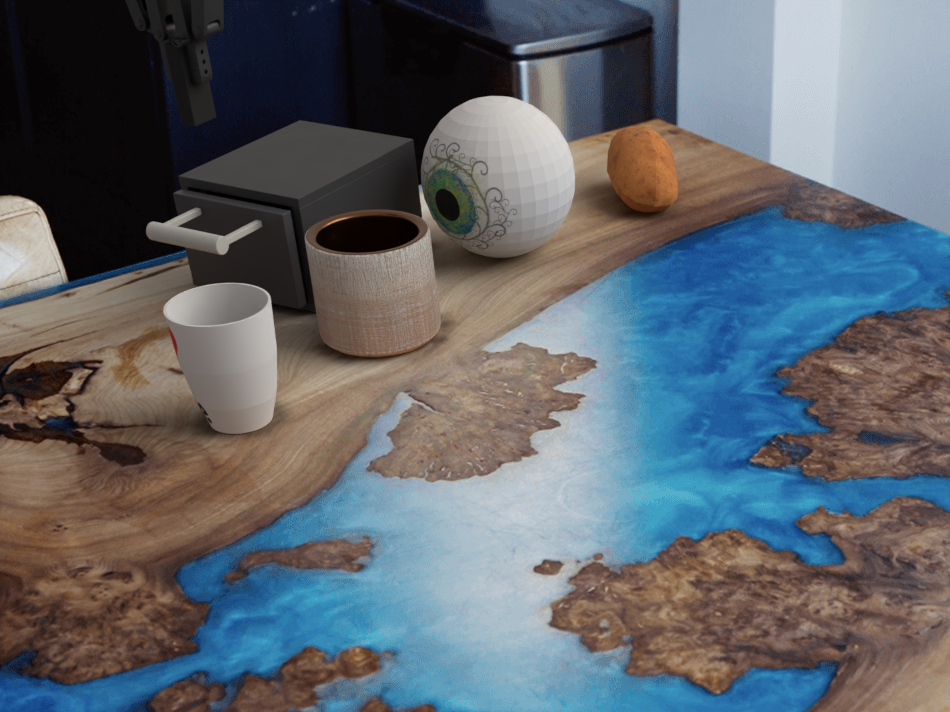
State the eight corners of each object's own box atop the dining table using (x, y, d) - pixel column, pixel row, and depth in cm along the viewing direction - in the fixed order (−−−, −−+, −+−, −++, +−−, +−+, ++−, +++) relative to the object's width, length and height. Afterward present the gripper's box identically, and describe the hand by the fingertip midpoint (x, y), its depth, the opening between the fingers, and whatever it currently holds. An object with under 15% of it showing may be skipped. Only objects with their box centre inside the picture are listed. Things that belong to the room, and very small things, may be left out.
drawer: (254, 336, 125) (234, 239, 120) (146, 310, 130) (123, 216, 124) (403, 246, 141) (392, 156, 136) (302, 226, 146) (287, 138, 140)
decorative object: (399, 252, 142) (380, 99, 133) (514, 213, 150) (503, 66, 141) (493, 296, 134) (479, 135, 125) (609, 251, 142) (604, 98, 133)
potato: (661, 178, 159) (670, 115, 154) (681, 229, 150) (692, 164, 145) (598, 174, 157) (605, 110, 153) (615, 225, 148) (623, 160, 144)
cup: (218, 391, 119) (192, 279, 113) (308, 400, 118) (287, 286, 112) (173, 438, 113) (143, 322, 107) (267, 447, 111) (243, 330, 105)
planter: (458, 314, 131) (448, 212, 125) (417, 366, 122) (403, 260, 116) (349, 304, 133) (333, 204, 127) (300, 355, 124) (281, 250, 118)
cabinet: (317, 313, 131) (297, 198, 125) (202, 287, 136) (177, 175, 130) (425, 246, 144) (413, 138, 137) (316, 224, 149) (299, 119, 142)
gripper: (232, -202, 106) (287, 118, 121) (103, -209, 111) (171, 99, 126) (163, -188, 101) (229, 144, 116) (30, -196, 106) (110, 123, 121)
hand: (199, 120), depth 121 cm, fingers closed
